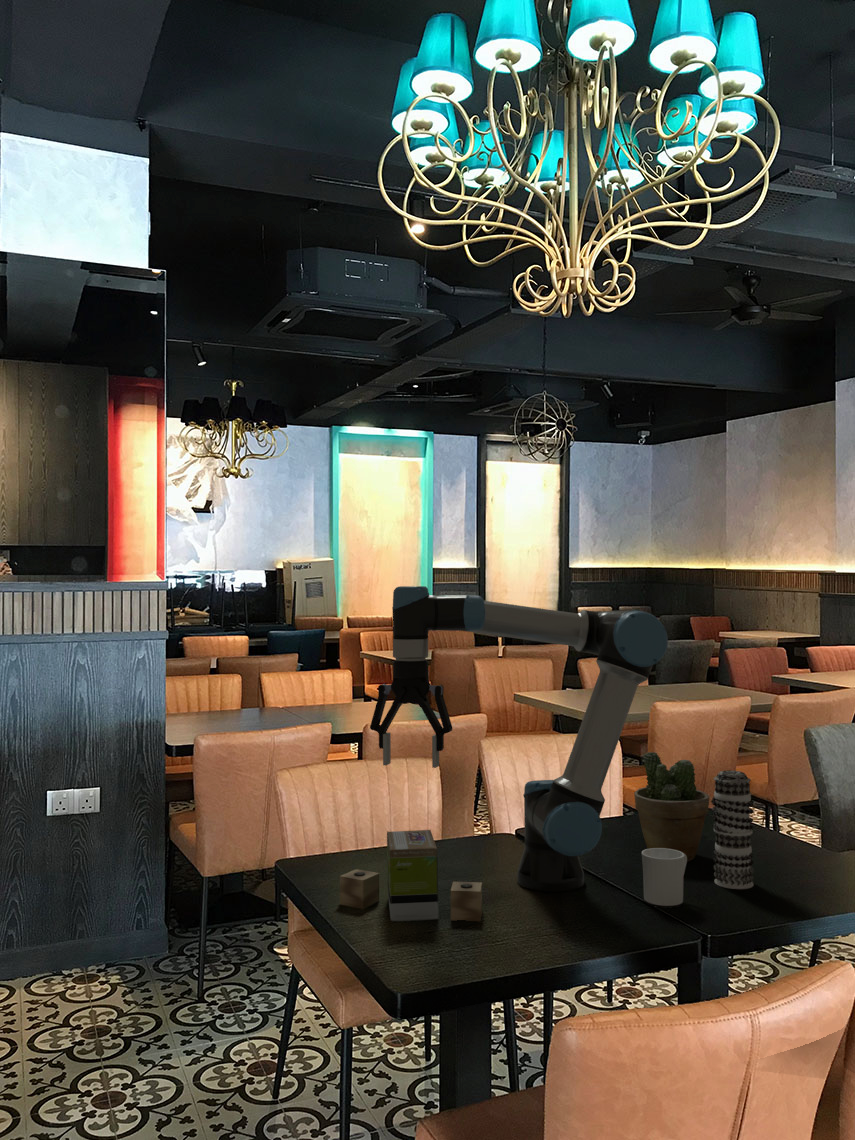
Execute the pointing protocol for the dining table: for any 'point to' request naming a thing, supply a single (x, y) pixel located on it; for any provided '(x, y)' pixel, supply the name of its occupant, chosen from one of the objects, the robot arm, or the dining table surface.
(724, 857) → the decorative candle
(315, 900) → the dining table surface
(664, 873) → the mug
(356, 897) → the oak block
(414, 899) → the tea box
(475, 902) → the oak block
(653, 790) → the potted plant
